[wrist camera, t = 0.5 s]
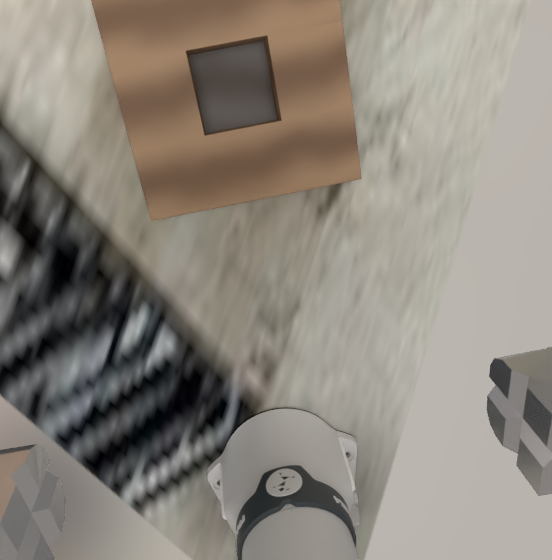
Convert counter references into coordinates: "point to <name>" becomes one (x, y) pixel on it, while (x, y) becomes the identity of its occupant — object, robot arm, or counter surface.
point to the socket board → (231, 98)
